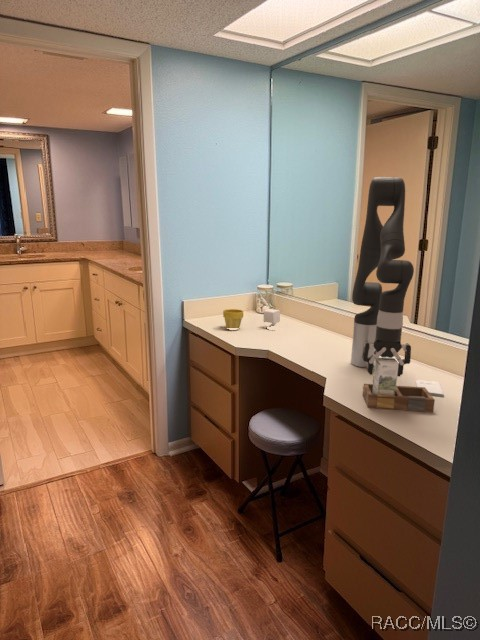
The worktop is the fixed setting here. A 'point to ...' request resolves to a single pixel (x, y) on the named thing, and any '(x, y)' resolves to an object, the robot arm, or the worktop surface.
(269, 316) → the security camera
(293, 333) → the worktop surface
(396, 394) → the socket block
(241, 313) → the plant pot
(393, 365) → the syrup box
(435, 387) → the external hard drive
